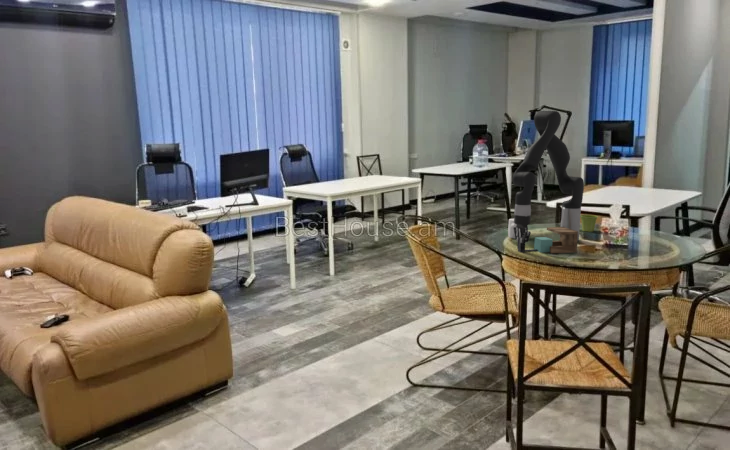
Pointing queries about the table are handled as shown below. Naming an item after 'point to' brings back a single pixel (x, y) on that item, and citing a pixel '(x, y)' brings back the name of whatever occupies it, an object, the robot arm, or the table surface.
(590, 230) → the plant pot
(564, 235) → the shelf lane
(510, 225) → the mug
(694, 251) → the table surface
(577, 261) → the table surface
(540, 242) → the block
